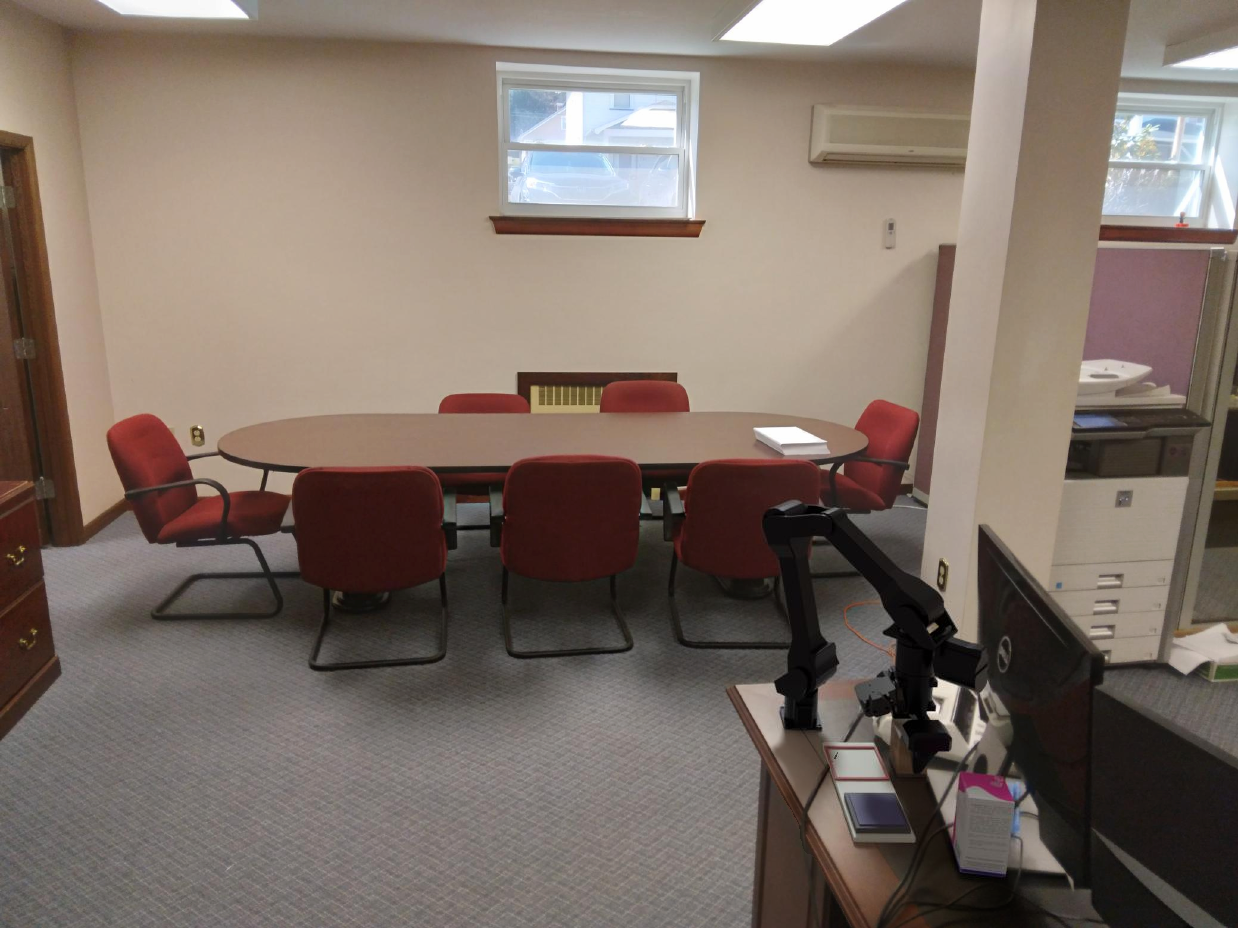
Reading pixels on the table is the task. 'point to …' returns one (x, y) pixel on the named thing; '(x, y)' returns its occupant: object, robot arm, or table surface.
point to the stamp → (901, 752)
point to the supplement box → (982, 824)
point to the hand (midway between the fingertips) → (908, 755)
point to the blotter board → (867, 794)
